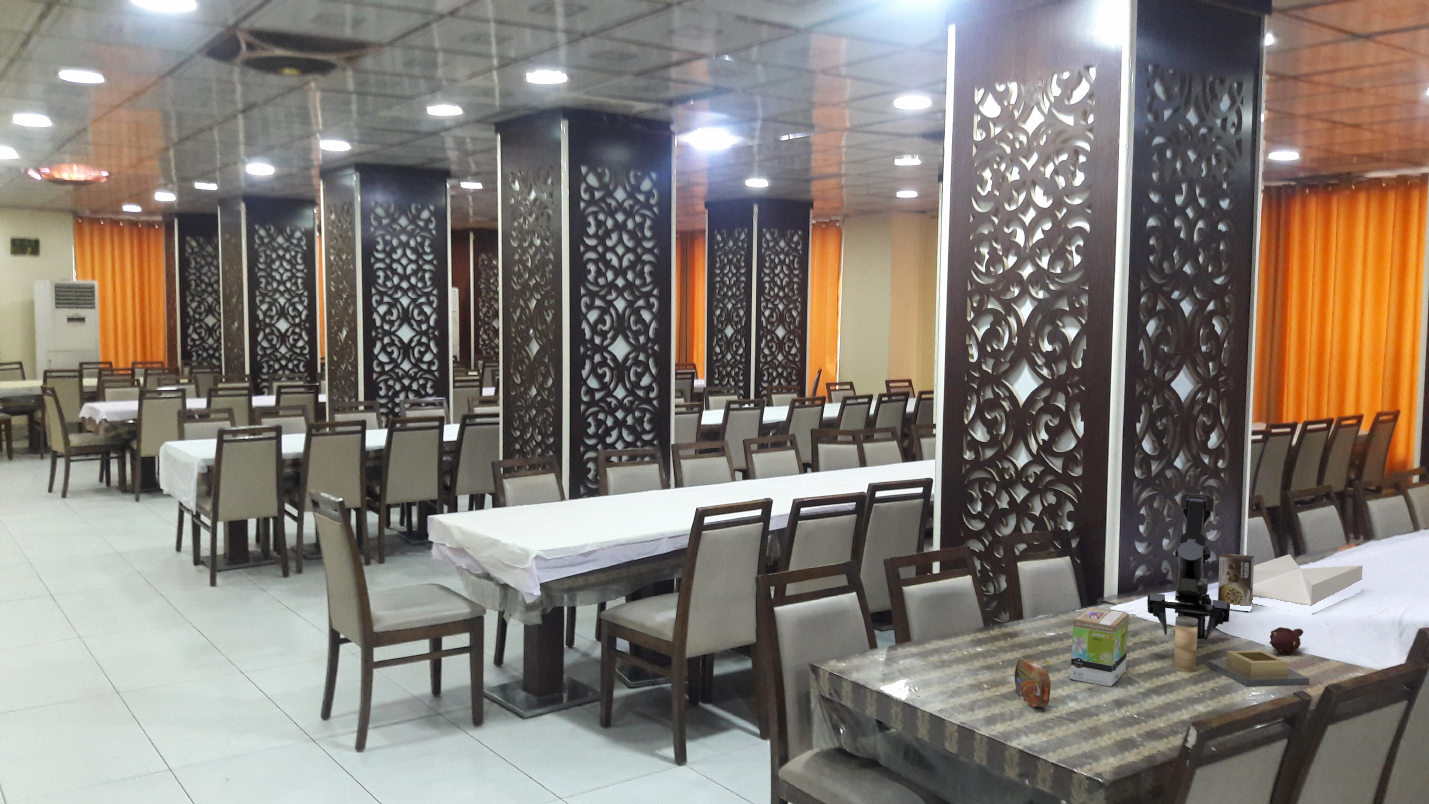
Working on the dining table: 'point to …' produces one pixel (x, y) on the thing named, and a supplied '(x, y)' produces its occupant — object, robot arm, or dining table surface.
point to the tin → (1032, 683)
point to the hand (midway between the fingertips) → (1185, 636)
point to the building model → (1301, 581)
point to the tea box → (1099, 646)
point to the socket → (1257, 669)
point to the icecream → (1285, 640)
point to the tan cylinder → (1185, 643)
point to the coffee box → (1236, 579)
